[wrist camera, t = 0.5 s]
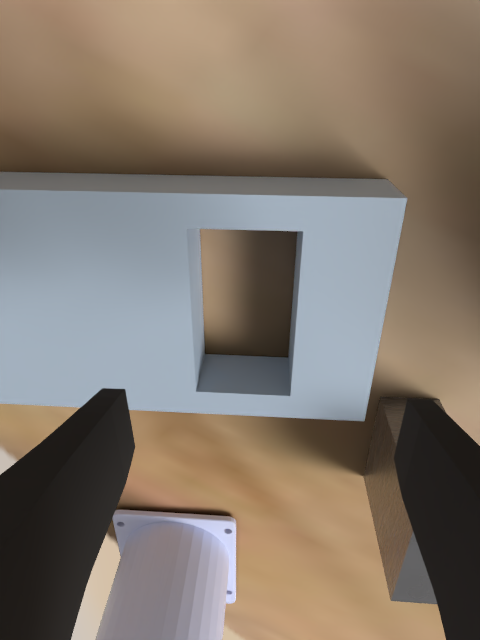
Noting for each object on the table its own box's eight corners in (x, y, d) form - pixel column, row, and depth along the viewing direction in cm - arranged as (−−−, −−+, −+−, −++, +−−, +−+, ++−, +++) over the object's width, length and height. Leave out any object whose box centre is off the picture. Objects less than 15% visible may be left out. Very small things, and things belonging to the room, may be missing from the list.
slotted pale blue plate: (353, 380, 22) (364, 421, 20) (30, 366, 23) (-1, 403, 21) (387, 179, 17) (407, 198, 15) (-25, 171, 18) (-75, 187, 16)
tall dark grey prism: (415, 479, 26) (459, 605, 20) (363, 476, 26) (390, 601, 20) (439, 399, 23) (499, 519, 17) (380, 396, 23) (418, 514, 17)
